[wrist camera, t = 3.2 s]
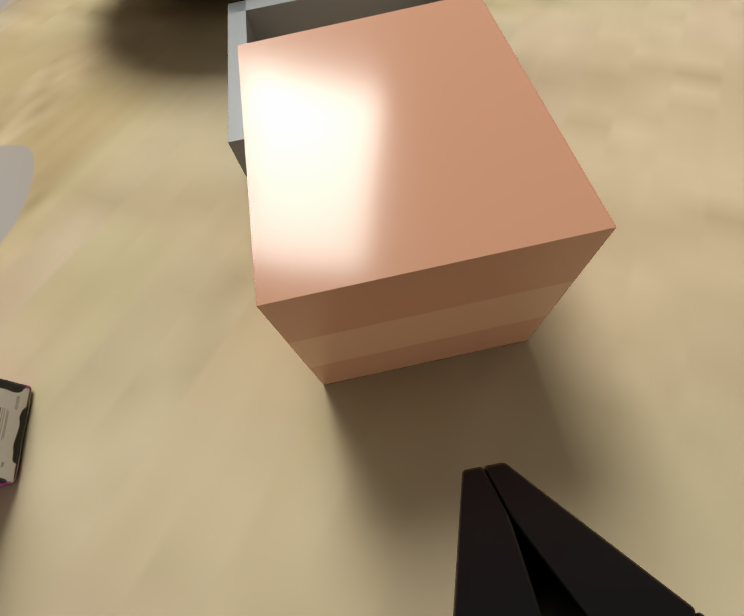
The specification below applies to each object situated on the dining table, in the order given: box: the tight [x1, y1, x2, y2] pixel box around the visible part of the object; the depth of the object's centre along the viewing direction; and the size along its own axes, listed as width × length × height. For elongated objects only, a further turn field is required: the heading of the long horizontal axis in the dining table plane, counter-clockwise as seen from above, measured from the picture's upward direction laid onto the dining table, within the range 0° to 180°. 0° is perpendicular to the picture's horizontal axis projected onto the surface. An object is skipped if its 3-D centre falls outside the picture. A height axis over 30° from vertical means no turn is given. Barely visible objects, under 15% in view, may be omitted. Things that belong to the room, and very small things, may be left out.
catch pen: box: [228, 0, 443, 177], centre depth 25 cm, size 13×15×4 cm
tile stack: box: [237, 0, 616, 385], centre depth 17 cm, size 12×10×9 cm
